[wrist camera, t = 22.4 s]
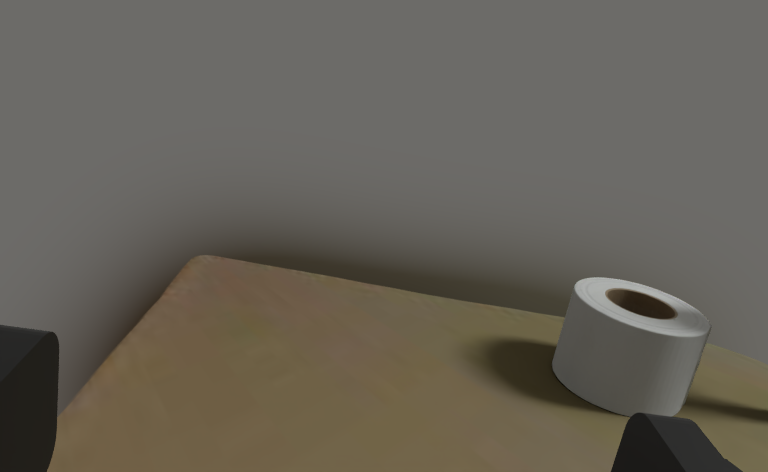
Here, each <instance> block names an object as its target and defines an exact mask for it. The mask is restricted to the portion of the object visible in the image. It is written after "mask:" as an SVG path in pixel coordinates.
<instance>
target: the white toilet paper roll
mask: <svg viewBox="0 0 768 472" xmlns="http://www.w3.org/2000/svg"><path fill="white" fill-rule="evenodd" d="M711 328H712V325H711V324H710V322H709V321H708V319H707V318H706V317H705V316H704V315H702V313H700V312H699V311H698V310H696V309H695V308H694V307H692V306H690V305H689V304H687V303H685V302H684V301H682V300H680V299H678V298H676V297H673V296H671V295H669V294H667V293H664V292H662V291H659V290H657V289H654V288H651V287H648V286H644V285H641V284H638V283H633V282H629V281H625V280H619V279H612V278H586V279H583V280H580V281H578V282H577V283H576V284H575V286H574V289H573V292H572V296H571V299H570V303H569V306H568V310H567V313H566V317H565V320H564V323H563V327H562V330H561V333H560V337H559V340H558V344H557V347H556V351H555V354H554V357H553V361H552V368H553V371H554V373H555V375H556V376H557V378H558V379H559V380H560V382H561V383H562V384H563V385H565V386H566V387H567V388H568V389H569V390H570V391H572V392H573V393H575V394H576V395H577V396H579V397H581V398H582V399H584V400H586V401H588V402H590V403H592V404H594V405H596V406H598V407H601V408H603V409H606V410H608V411H611V412H614V413H617V414H621V415H624V416H629V417H631V416H632V415H634V414H635V413H639V412H641V413H648V414H655V415H663V416H670V417H672V416H674V415H676V414H677V413H678V412H679V411H680V409H681V407H682V405H684V404H685V401H686V398H687V395H688V393H689V390H690V387H691V385H692V382H693V379H694V376H695V373H696V370H697V368H698V366H699V362H700V359H701V356H702V352H703V350H704V347H705V344H706V341H707V338H708V336H709V334H710V331H711Z"/></svg>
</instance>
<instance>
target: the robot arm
mask: <svg viewBox="0 0 768 472" xmlns="http://www.w3.org/2000/svg"><path fill="white" fill-rule="evenodd" d="M58 371H59V342H58V338H57V336H56V334H55V333H53V332H49V331H42V330H34V329H27V328H19V327H11V326H4V325H0V472H47V469H48V467H49V464H50V461H51V458H52V455H53V451H54V446H55V441H56V431H57V400H58ZM611 472H742V471H741V470H740V469H739V468H737V467H736V466H735V465H733V464H732V463H731V462H729V461H728V460H727V459H724V458H723V457H722V456H721V454H720V453H719V452H718V451H717V449H716V448H715V447H714V446H713V444H712V443H711V442H710V441H709V439H708V438H707V437H706V436H705V434H704V433H703V432H702V431H701V429H700V428H699V427H698V426H697V424H696V423H695V422H693V421H692V420H690V419H685V418H678V417H670V416H663V415H655V414H648V413H641V412H639V413H635V414H634V415H632V416H631V418H630V419H629V420H628V422H627V424H626V427H625V430H624V433H623V436H622V439H621V442H620V445H619V448H618V451H617V455H616V458H615V461H614V464H613V467H612V470H611Z"/></svg>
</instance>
